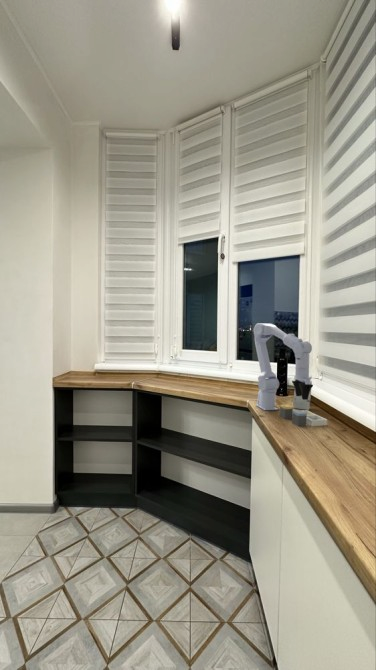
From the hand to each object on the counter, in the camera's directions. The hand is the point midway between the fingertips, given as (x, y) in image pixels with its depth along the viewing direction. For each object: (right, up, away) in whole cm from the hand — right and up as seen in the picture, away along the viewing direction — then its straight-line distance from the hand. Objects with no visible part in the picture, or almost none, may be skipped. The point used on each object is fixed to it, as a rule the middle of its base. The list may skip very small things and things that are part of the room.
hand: (301, 397), depth 137 cm
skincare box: (+8, -10, +21) cm, 24 cm away
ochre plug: (-6, -10, +4) cm, 12 cm away
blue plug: (-3, -11, -6) cm, 13 cm away
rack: (+3, -10, 0) cm, 11 cm away
